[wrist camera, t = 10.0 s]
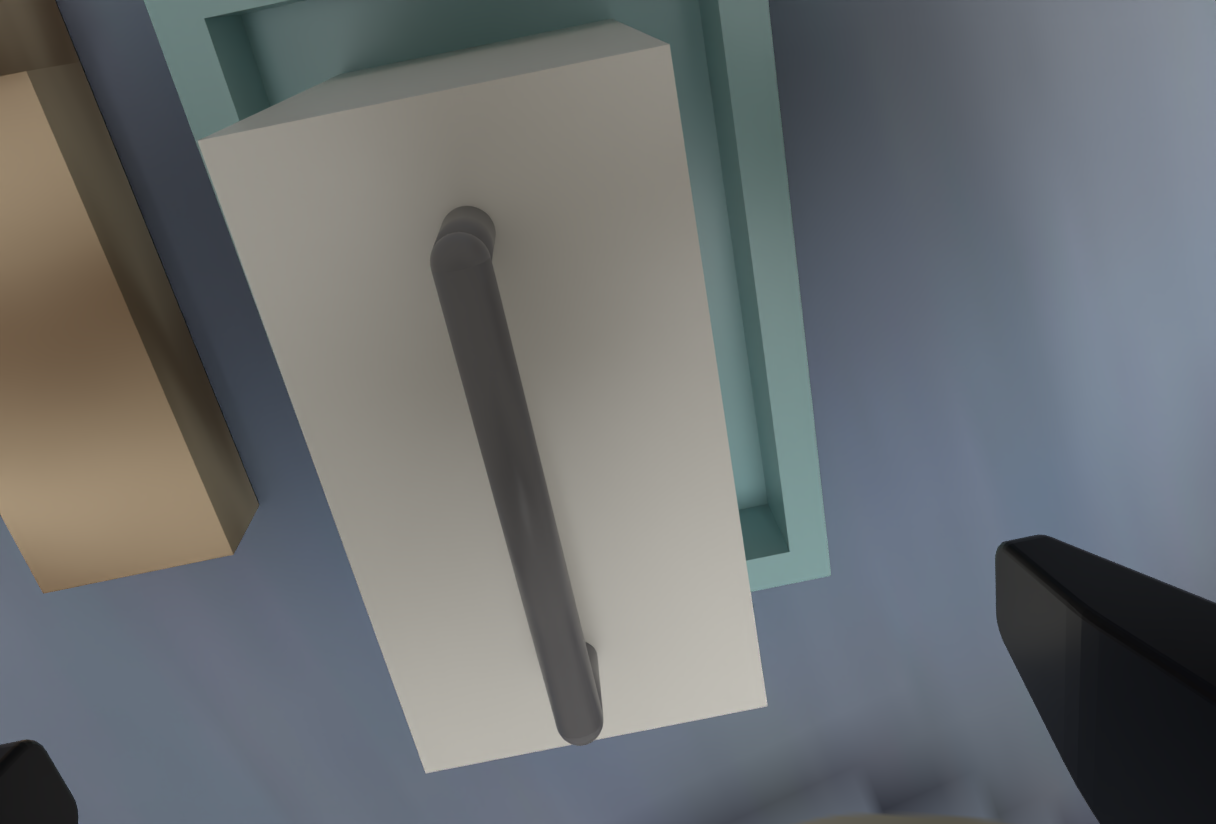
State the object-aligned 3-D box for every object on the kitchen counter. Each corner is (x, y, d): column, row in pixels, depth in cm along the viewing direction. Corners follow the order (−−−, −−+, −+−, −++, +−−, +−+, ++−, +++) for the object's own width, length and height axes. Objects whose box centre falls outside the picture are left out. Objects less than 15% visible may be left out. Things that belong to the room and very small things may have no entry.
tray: (800, 515, 22) (831, 575, 20) (402, 596, 22) (388, 665, 20) (720, -139, 17) (750, -158, 14) (188, -25, 17) (133, -27, 14)
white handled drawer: (685, 453, 21) (793, 786, 12) (463, 498, 21) (413, 861, 12) (610, 18, 17) (692, 54, 8) (340, 74, 17) (142, 165, 8)
